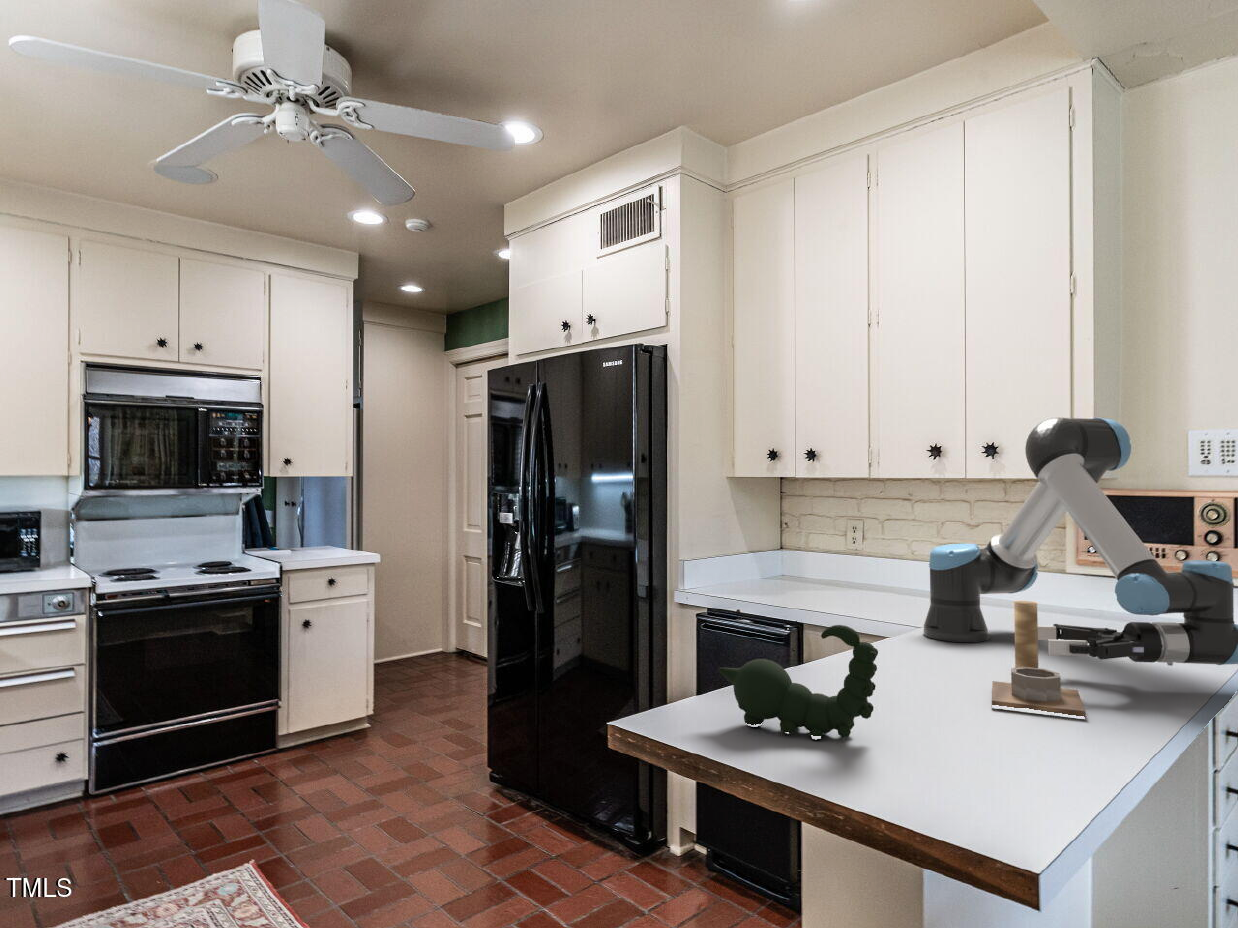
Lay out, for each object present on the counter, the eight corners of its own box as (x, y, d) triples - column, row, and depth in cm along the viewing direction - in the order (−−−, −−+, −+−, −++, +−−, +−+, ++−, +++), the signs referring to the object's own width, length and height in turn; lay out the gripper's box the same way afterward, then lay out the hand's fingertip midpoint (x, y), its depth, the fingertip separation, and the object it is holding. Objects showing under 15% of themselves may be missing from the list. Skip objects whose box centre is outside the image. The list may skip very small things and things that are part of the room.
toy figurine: (872, 743, 119) (722, 709, 130) (882, 625, 119) (731, 601, 130) (865, 763, 111) (705, 726, 121) (875, 637, 110) (714, 610, 121)
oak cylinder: (1015, 685, 146) (1014, 603, 147) (1015, 680, 150) (1014, 600, 150) (1039, 687, 144) (1037, 604, 145) (1038, 682, 148) (1036, 601, 148)
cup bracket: (991, 708, 131) (991, 677, 131) (992, 688, 144) (992, 660, 144) (1085, 720, 125) (1084, 687, 125) (1077, 698, 137) (1077, 668, 137)
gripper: (1193, 679, 131) (1062, 675, 134) (1120, 647, 155) (1011, 644, 159) (1192, 636, 131) (1061, 633, 134) (1119, 611, 156) (1010, 609, 159)
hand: (1034, 639), depth 146 cm, fingers open, 13 cm apart
